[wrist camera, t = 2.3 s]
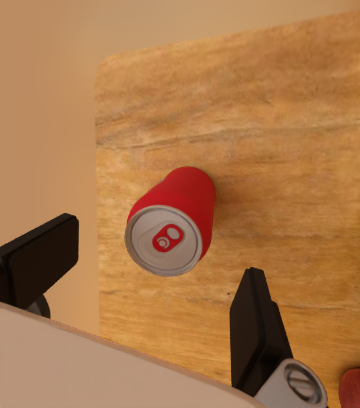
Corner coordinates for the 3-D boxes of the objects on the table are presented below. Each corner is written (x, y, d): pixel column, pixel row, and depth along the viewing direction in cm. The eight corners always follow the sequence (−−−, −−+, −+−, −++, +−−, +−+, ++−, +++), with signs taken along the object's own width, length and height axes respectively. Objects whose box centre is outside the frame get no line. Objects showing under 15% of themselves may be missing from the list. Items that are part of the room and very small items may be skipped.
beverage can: (153, 191, 25) (99, 239, 14) (187, 153, 23) (155, 176, 12) (189, 225, 26) (166, 298, 15) (226, 192, 23) (232, 248, 12)
